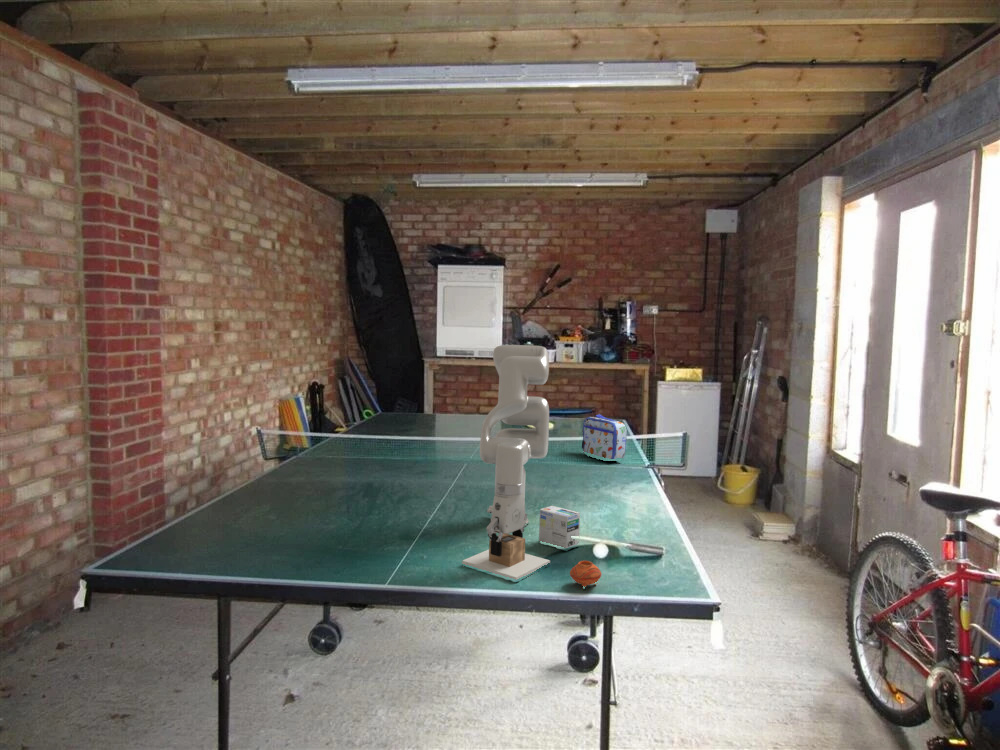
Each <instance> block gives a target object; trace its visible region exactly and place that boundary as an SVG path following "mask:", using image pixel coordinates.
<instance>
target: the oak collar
mask: <svg viewBox="0 0 1000 750" xmlns="http://www.w3.org/2000/svg"><path fill="white" fill-rule="evenodd" d="M497 537H498V535H497ZM507 537H510V538H513V540H511V541H509V542H504V541H501V540H502V539H504V538H507ZM501 540H500V541H501V542H502V554H501V556H500V557H499V556H495V555H492V554H491V540H490V538H489V544H488V547H489V548H488V550H489V561H491V562H494V563H498V564H501V565H504V566H508V567H511V566H513V565H515V564H517V563H519V562H521V561H524V560H525V553H526V538H525V537H523V538H521V537H518V536H514V535H512V534H511V533H509V534H503V536H502V538H501Z"/></svg>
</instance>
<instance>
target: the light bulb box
mask: <svg viewBox="0 0 1000 750" xmlns="http://www.w3.org/2000/svg"><path fill="white" fill-rule="evenodd" d="M580 524H581V512H580V511H575V510H570V509H566V508H563V507H559V506H556V505H550V506H546V507H542V508H540V509H539V524H538V525H539V527H538V529H539V530H538V542H539V541H542V542H546V543H550V544H553V545H557V546H561V547H564V548H568V547H571V546H574V545H577V544H578V543H579V544H580V540H579V541H577V540H575V539H572V538H571V536H579V537H580V530H581V529H580V526H581V525H580Z"/></svg>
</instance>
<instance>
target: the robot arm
mask: <svg viewBox="0 0 1000 750" xmlns="http://www.w3.org/2000/svg"><path fill="white" fill-rule="evenodd" d="M492 358H493V363H494V367H495V370H496V371H497V374H498V376H499V378H498V380H499V381H498V394H497V396H498V399H497V400H498V401H497V404H496V405H495V406H494V407H493V408H492V409H491V410H490V411H489V412H488V414H487V415H486V417H484V420H483V422H482V425H481V429H480V430H481V431H480V442H479V457H480V459H481V460H482V461H483V462H484V463H485V464H488V465H489V464H492V465H495V469H494V470H495V471H494V473H495V477H494V478H495V479H494V496H493V503H492V505H489V506H488V508H487V510H486V512H487V513H489V514H491V518H490V523H488V525H487V526H486V531H487V536H488V538H489V539H490V540H491V554H492V555H495V556H499V557H500V556H501V554H502V542H501V541H500V540H501V538H502V536H503V534H511V535H514V536H518V537H521V538H524V537H523V536H524V531H525V527H526V526H525V524H527V523H528V522H529V523H530V521H529V519H528V514H527V513H526V503H525V502H526V501H525V500H526V498H525V496H526V473H527V472H526V469H525V466H524V465H526V463H528V461H529V460H530V459H543V458H545V457H546V456H547V454H548V450H549V440H550V439H549V433H550V431H549V430H550V406H549V402H548V401H547V399H546V398H545V397H542V396H529V395H528V385H537V386H538V385H540V386H541V385H542V386H543V385H544V384H546V382H547V381H548V379H549V373H550V365H549V363H550V362H549V361H550V360H549V353H548V349H547V348H546V347H545V346H541V345H524V344H521V345H520V344H502V345H498V346H495V347H494V349H493V352H492ZM500 421H502V422H503V423H504V424H506V425H511V426H512V425H514V426H531V427H532V426H533V427H534V428H532V429H531V428H512V427H510V428H503V429H502V428H501V429H500V430H499V431H498V432H497V433H496V434H495V436H491V434H492V429H493V428H494V426H495V425H496V424H498V423H499V422H500ZM529 523H528V524H529ZM497 533H498V534H497ZM497 536H498V537H497Z"/></svg>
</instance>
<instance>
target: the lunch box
mask: <svg viewBox="0 0 1000 750" xmlns="http://www.w3.org/2000/svg"><path fill="white" fill-rule="evenodd" d="M582 425H583V426H582V431H581V432H582V442H581V449H582V452H583V451H584V452H587V453H591V454H594V455H597V456H600V457H604V458H609V459H616V458H624V459H625V457H626V448H627V447H626V446H627V436H628V435H627V434H628V432H627V431H628V430H627V427H626V426H627V425H625V423H623V422H621V421H618V420H614V419H612V418H607V417H605V416H604V415H602V414H596V415H595V416H588V417H586V418H585V419H584V420H583V423H582ZM584 452H583V453H584Z"/></svg>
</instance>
